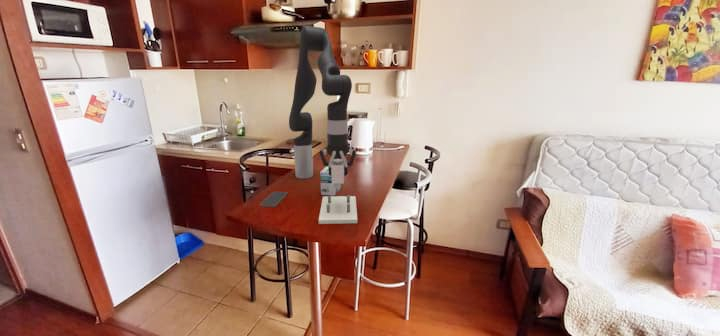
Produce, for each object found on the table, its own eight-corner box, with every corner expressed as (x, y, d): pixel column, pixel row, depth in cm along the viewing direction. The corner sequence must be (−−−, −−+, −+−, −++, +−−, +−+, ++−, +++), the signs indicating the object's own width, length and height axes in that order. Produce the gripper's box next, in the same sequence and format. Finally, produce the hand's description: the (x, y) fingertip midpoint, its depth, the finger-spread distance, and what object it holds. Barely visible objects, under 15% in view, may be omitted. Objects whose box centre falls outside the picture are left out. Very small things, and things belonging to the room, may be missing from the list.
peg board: (322, 199, 131) (322, 190, 129) (355, 199, 131) (355, 189, 130) (318, 223, 110) (318, 212, 108) (357, 223, 110) (357, 212, 109)
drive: (333, 173, 122) (332, 156, 120) (344, 173, 122) (344, 156, 120) (331, 183, 110) (331, 165, 108) (344, 183, 111) (344, 165, 109)
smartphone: (258, 205, 124) (273, 191, 138) (258, 207, 124) (273, 193, 138) (275, 206, 123) (288, 192, 137) (275, 208, 123) (288, 194, 137)
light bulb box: (334, 196, 135) (334, 173, 131) (320, 194, 136) (319, 172, 133) (341, 187, 145) (340, 166, 141) (327, 186, 146) (326, 165, 143)
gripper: (356, 129, 115) (356, 172, 120) (318, 130, 114) (320, 173, 119) (357, 133, 108) (357, 179, 113) (317, 133, 107) (318, 179, 112)
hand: (338, 175), depth 116 cm, fingers closed on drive, 4 cm apart
